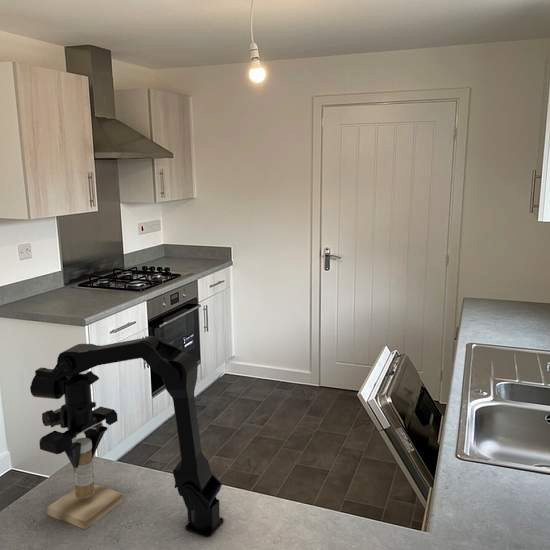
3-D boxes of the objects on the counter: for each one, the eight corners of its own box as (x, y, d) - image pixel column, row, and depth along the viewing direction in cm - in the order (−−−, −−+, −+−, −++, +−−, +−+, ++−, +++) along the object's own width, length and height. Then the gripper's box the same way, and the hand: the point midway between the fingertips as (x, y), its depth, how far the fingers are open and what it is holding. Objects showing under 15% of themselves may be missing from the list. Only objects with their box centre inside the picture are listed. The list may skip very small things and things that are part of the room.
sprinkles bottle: (77, 489, 130) (73, 437, 128) (97, 488, 131) (93, 436, 128) (72, 500, 126) (68, 446, 123) (93, 499, 126) (88, 445, 124)
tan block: (122, 501, 132) (122, 493, 131) (85, 529, 121) (85, 521, 121) (86, 488, 137) (85, 481, 137) (47, 515, 126) (46, 507, 126)
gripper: (83, 380, 136) (87, 438, 139) (19, 409, 119) (25, 474, 122) (117, 388, 131) (121, 447, 134) (55, 418, 115) (61, 486, 117)
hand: (83, 462), depth 127 cm, fingers closed on sprinkles bottle, 4 cm apart
